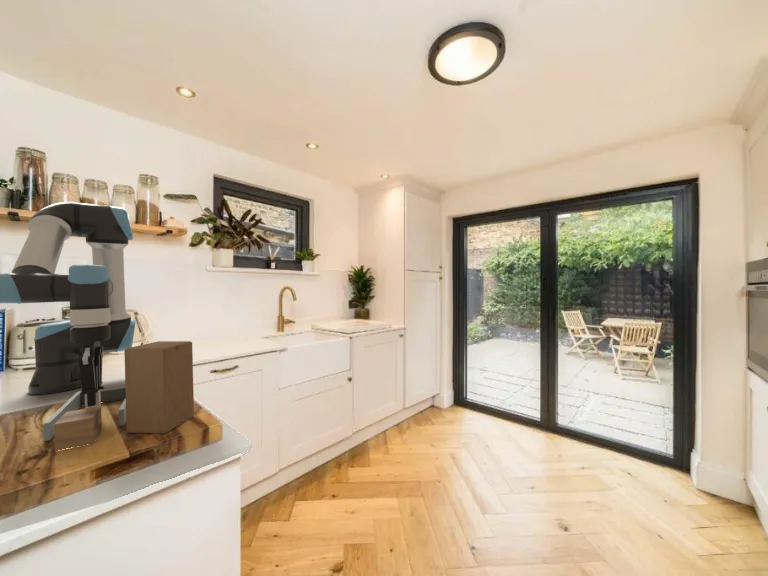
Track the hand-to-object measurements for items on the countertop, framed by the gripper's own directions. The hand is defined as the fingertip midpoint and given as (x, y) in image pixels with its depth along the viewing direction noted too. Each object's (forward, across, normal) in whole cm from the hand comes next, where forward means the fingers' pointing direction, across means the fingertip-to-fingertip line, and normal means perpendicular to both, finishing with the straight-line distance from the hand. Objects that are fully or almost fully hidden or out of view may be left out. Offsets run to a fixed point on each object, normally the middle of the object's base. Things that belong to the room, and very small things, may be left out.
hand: (93, 416), depth 80 cm
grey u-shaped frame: (+1, -6, 0) cm, 6 cm away
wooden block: (+1, +12, +15) cm, 19 cm away
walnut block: (+1, +11, 0) cm, 11 cm away
